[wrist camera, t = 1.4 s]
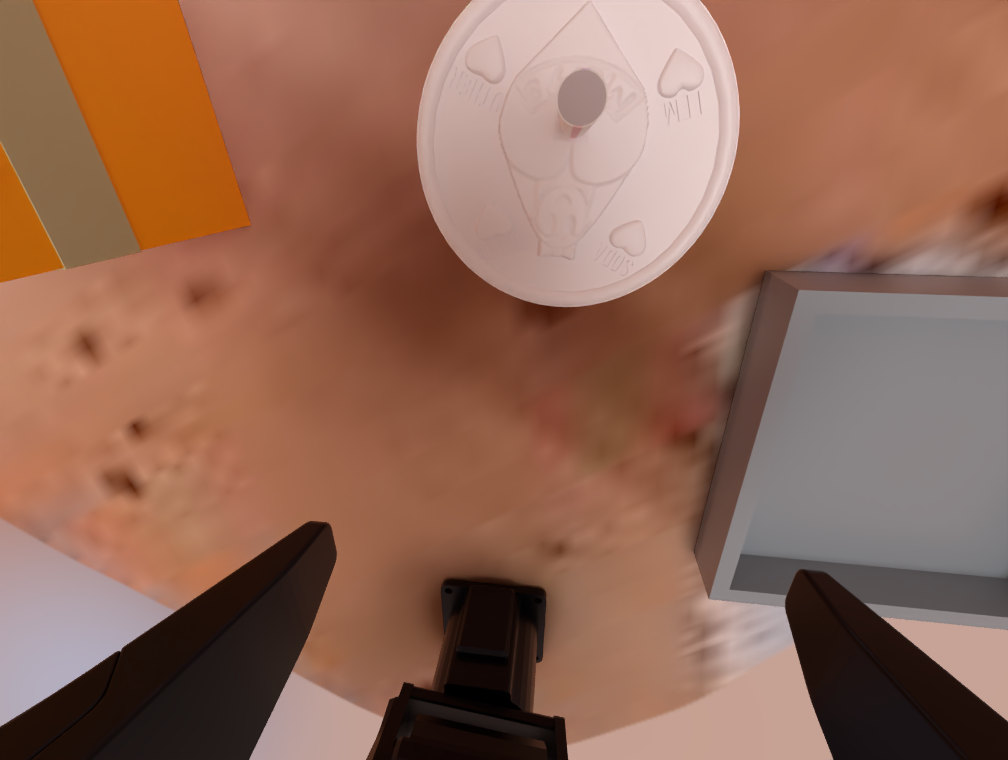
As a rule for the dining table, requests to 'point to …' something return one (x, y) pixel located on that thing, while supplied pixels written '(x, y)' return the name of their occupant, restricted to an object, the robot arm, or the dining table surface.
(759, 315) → the gray square tray
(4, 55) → the orange juice
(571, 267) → the smoothie
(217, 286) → the dining table surface
